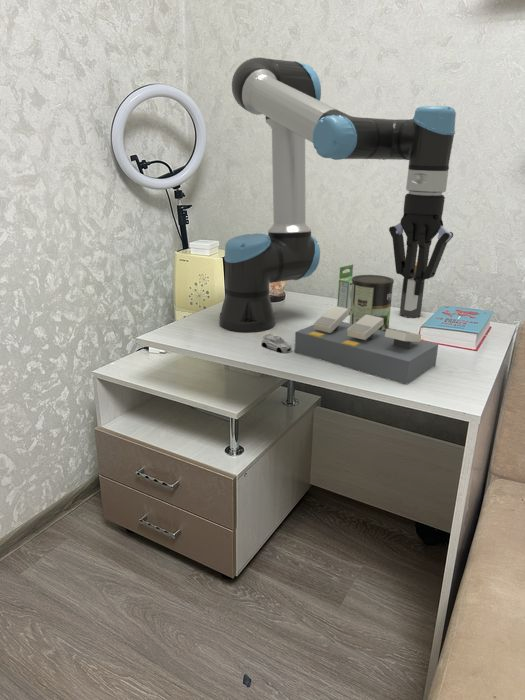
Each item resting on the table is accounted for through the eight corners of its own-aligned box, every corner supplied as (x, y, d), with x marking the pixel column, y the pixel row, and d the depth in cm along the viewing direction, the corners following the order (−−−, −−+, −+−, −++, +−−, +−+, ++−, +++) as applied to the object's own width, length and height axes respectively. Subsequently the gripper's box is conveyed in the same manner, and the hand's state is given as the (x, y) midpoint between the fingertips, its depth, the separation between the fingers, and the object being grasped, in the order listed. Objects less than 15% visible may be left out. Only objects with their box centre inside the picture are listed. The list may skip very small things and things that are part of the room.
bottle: (395, 314, 152) (400, 263, 147) (407, 311, 156) (412, 260, 151) (412, 319, 148) (418, 266, 143) (424, 315, 152) (430, 263, 147)
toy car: (284, 355, 121) (284, 343, 120) (259, 346, 126) (259, 335, 125) (294, 351, 123) (295, 339, 122) (270, 343, 129) (270, 331, 128)
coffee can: (388, 327, 141) (393, 275, 136) (389, 339, 131) (394, 284, 126) (349, 324, 143) (352, 273, 138) (347, 336, 133) (351, 282, 128)
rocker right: (384, 336, 109) (386, 328, 109) (400, 337, 115) (402, 329, 115) (404, 341, 106) (406, 332, 106) (419, 342, 112) (421, 334, 112)
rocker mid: (347, 335, 115) (347, 328, 114) (366, 320, 120) (366, 313, 119) (365, 340, 113) (364, 332, 112) (383, 324, 118) (383, 317, 117)
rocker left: (314, 329, 121) (313, 323, 120) (333, 310, 126) (332, 304, 125) (330, 333, 118) (329, 326, 117) (349, 314, 123) (348, 308, 122)
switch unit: (294, 352, 122) (295, 325, 120) (328, 337, 132) (330, 312, 130) (406, 384, 105) (409, 354, 103) (435, 365, 115) (439, 337, 113)
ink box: (347, 315, 151) (350, 269, 147) (336, 312, 154) (338, 267, 149) (361, 310, 156) (364, 265, 151) (350, 308, 158) (353, 264, 154)
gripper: (385, 191, 104) (374, 306, 113) (450, 196, 96) (432, 319, 105) (403, 190, 109) (390, 299, 118) (465, 194, 102) (447, 311, 110)
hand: (410, 309), depth 111 cm, fingers closed
